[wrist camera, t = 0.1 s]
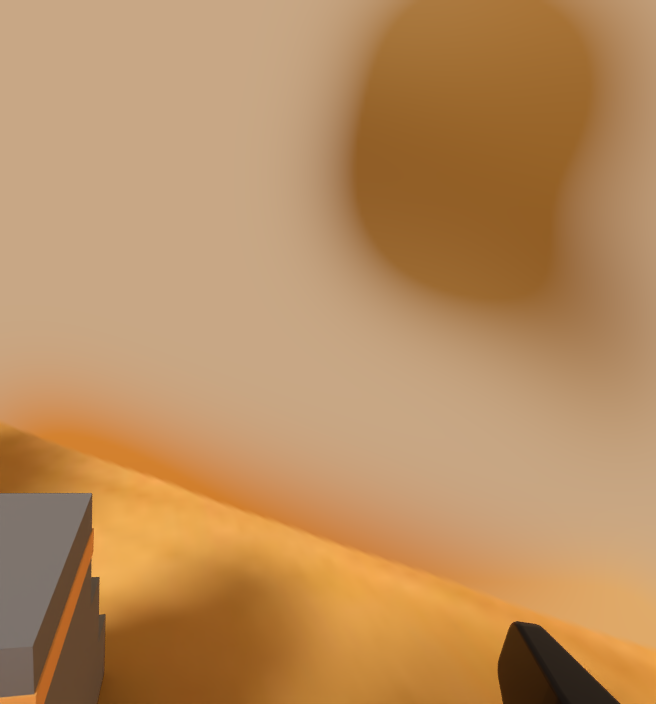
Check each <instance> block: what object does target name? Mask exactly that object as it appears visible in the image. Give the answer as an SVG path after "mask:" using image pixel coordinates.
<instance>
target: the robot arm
mask: <svg viewBox="0 0 656 704" xmlns="http://www.w3.org/2000/svg"><path fill="white" fill-rule="evenodd" d="M498 679H499V684H500V690H501V695H502V701H503V704H620V703H619V702H618V701H617V700H616V699H615V698H614V697H613V696H612V695H611V694H610V693H609V692H608V691H607V690H606V689H605V688H604V687H603V686H602V685H601V684H600V683H599V682H598V681H597V680H596V679H595V678H594V677H593V676H591V675H590V674H589V673H588V672H587V671H586V670H585V669H584V668H583V667H582V666H581V665H580V664H579V663H578V662H577V661H576V660H575V659H574V658H573V657H572V656H571V655H570V654H569V653H568V652H567V651H566V650H565V649H564V648H563V647H562V646H561V645H560V644H559V643H558V642H557V641H556V640H555V639H554V638H553V637H552V636H551V635H550V634H549V633H548V632H547V631H546V630H545V629H543V628H542V627H541V626H539V625H537V624H532V623H525V622H518V621H516V622H513V623H512V624H511V625H510V627H509V630H508V633H507V636H506V639H505V642H504V645H503V648H502V651H501V654H500V657H499V661H498Z"/></svg>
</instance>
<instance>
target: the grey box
mask: <svg viewBox="0 0 656 704" xmlns="http://www.w3.org/2000/svg"><path fill="white" fill-rule="evenodd" d="M93 538H94V528H93V529H92V493H0V704H97V702H98V697H99V693H100V688H101V684H102V679H103V675H104V657H105V614H103V615H99V577H91V557H92V554H93Z"/></svg>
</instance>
